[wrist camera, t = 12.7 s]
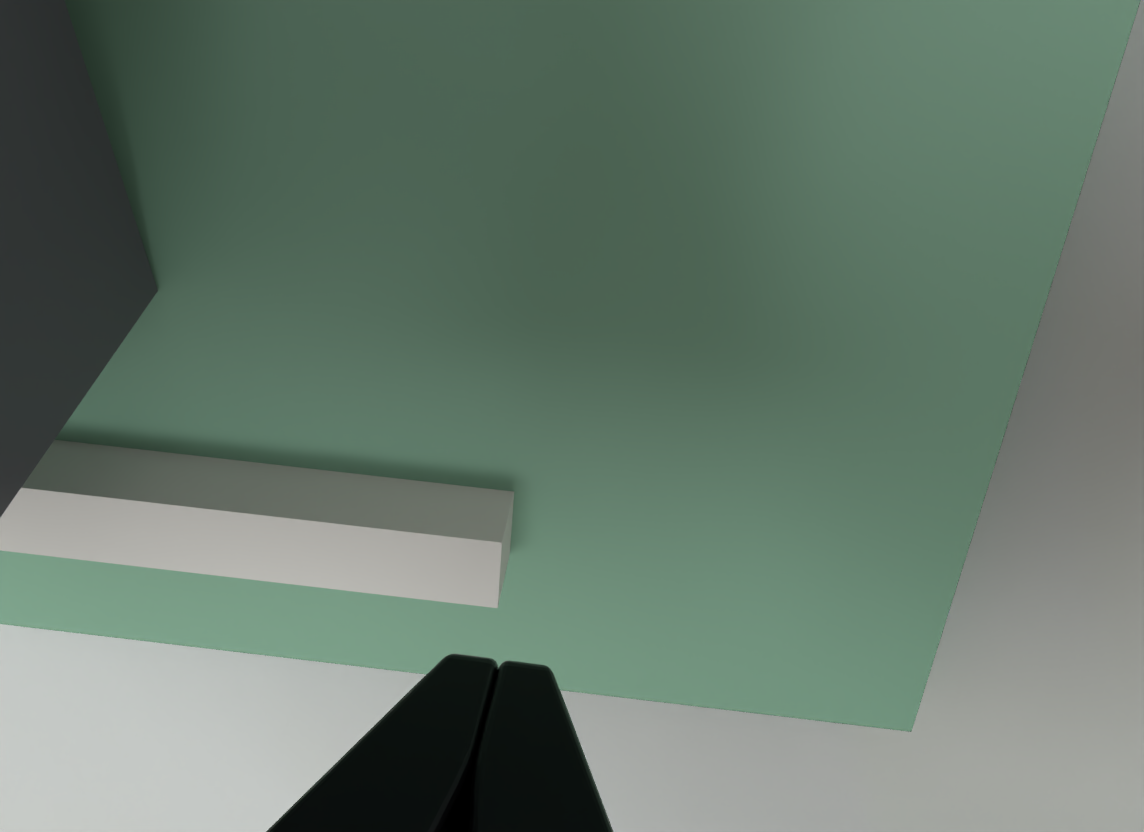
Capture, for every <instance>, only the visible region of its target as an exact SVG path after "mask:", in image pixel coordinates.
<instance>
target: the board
mask: <svg viewBox="0 0 1144 832" xmlns="http://www.w3.org/2000/svg"><path fill="white" fill-rule="evenodd" d="M65 3H66V6H67V9H68V12H69V16H70V19H71V22H72V25H73V28H74V31H75V34H76V37H77V40H78V44H79V47H80V50H81V53H82V56H83V59H84V62H85V65H86V68H87V72H88V75H89V78H90V81H91V84H92V87H93V90H94V93H95V96H96V99H97V103H98V106H99V109H100V112H101V115H102V118H103V121H104V124H105V127H106V131H107V134H108V137H109V140H110V143H111V146H112V149H113V152H114V155H115V158H116V162H117V165H118V168H119V171H120V174H121V177H122V180H123V183H124V186H125V190H126V193H127V196H128V199H129V202H130V205H131V208H132V211H133V214H134V217H135V221H136V224H137V227H138V230H139V233H140V236H141V239H142V242H143V245H144V249H145V252H146V255H147V258H148V261H149V264H150V267H151V270H152V273H153V277H154V280H155V283H156V286H157V289H158V292H157V293H156V294H155V296H154V297H153V299H152V300H151V302H150V303H149V304H148V306H147V307H146V309H145V310H144V312H143V313H142V315H141V316H140V317H139V319H138V320H137V322H136V323H135V325H134V326H133V328H132V329H131V330H130V332H129V333H128V335H127V336H126V338H125V339H124V340H123V342H122V343H121V345H120V346H119V348H118V349H117V351H116V352H115V353H114V355H113V356H112V358H111V359H110V361H109V362H108V363H107V365H106V366H105V368H104V369H103V371H102V372H101V374H100V375H99V376H98V378H97V379H96V381H95V382H94V384H93V385H92V386H91V388H90V389H89V391H88V392H87V394H86V395H85V397H84V398H83V399H82V401H81V402H80V404H79V405H78V407H77V408H76V409H75V411H74V412H73V414H72V415H71V417H70V418H69V420H68V421H67V422H66V424H65V425H64V427H63V428H62V430H61V431H60V433H59V434H58V435H57V437H56V438H55V440H54V441H53V443H52V444H51V445H50V447H49V448H48V450H47V451H46V453H45V454H44V456H43V457H42V458H41V460H40V461H39V463H38V464H37V466H36V467H35V468H34V470H33V471H32V473H31V474H30V476H29V477H28V479H27V480H26V481H25V483H24V484H23V486H22V487H21V489H20V490H19V491H18V493H17V494H16V496H15V497H14V499H13V500H12V502H11V503H10V504H9V506H8V507H7V509H6V510H5V512H4V513H3V514H2V516H1V517H0V624H5V625H14V626H22V627H31V628H39V629H47V630H56V631H64V632H73V633H81V634H90V635H98V636H107V637H115V638H124V639H132V640H140V641H149V642H157V643H166V644H174V645H183V646H191V647H200V648H208V649H216V650H225V651H233V652H242V653H250V654H259V655H267V656H276V657H284V658H293V659H301V660H309V661H318V662H326V663H335V664H343V665H352V666H360V667H369V668H377V669H386V670H394V671H402V672H411V673H419V674H428V673H429V672H430V671H431V670H432V669H433V668H434V667H435V666H436V665H437V664H438V663H439V662H440V661H441V660H442V659H443V658H444V657H445V656H447V655H450V654H463V655H471V656H479V657H487V658H492V659H494V660H495V661H496V662H497V664H498V668H499V666H500V665H501V664H502V662H504V661H509V660H510V661H518V662H526V663H533V664H541V665H546V666H548V667H549V668H550V669H551V670H552V672H553V673H554V676H555V678H556V681H557V684H558V686H559V689H560V690H563V691H571V692H580V693H588V694H597V695H605V696H614V697H622V698H631V699H639V700H648V701H656V702H664V703H673V704H681V705H690V706H698V707H707V708H715V709H724V710H732V711H740V712H749V713H757V714H766V715H774V716H783V717H791V718H800V719H808V720H817V721H825V722H833V723H842V724H850V725H859V726H867V727H876V728H884V729H893V730H901V731H910V732H911V731H912V728H913V725H914V721H915V718H916V715H917V712H918V709H919V705H920V702H921V699H922V696H923V693H924V689H925V686H926V683H927V680H928V677H929V674H930V670H931V667H932V664H933V661H934V658H935V654H936V651H937V648H938V645H939V642H940V638H941V635H942V632H943V629H944V626H945V622H946V619H947V616H948V613H949V610H950V606H951V603H952V600H953V597H954V594H955V591H956V587H957V584H958V581H959V578H960V575H961V571H962V568H963V565H964V562H965V559H966V555H967V552H968V549H969V546H970V543H971V539H972V536H973V533H974V530H975V527H976V524H977V520H978V517H979V514H980V511H981V508H982V504H983V501H984V498H985V495H986V492H987V488H988V485H989V482H990V479H991V476H992V472H993V469H994V466H995V463H996V460H997V457H998V453H999V450H1000V447H1001V444H1002V441H1003V437H1004V434H1005V431H1006V428H1007V425H1008V421H1009V418H1010V415H1011V412H1012V409H1013V405H1014V402H1015V399H1016V396H1017V393H1018V390H1019V386H1020V383H1021V380H1022V377H1023V374H1024V370H1025V367H1026V364H1027V361H1028V358H1029V354H1030V351H1031V348H1032V345H1033V342H1034V338H1035V335H1036V332H1037V329H1038V326H1039V323H1040V319H1041V316H1042V313H1043V310H1044V307H1045V303H1046V300H1047V297H1048V294H1049V291H1050V287H1051V284H1052V281H1053V278H1054V275H1055V271H1056V268H1057V265H1058V262H1059V259H1060V256H1061V252H1062V249H1063V246H1064V243H1065V240H1066V236H1067V233H1068V230H1069V227H1070V224H1071V220H1072V217H1073V214H1074V211H1075V208H1076V204H1077V201H1078V198H1079V195H1080V192H1081V189H1082V185H1083V182H1084V179H1085V176H1086V173H1087V169H1088V166H1089V163H1090V160H1091V157H1092V153H1093V150H1094V147H1095V144H1096V141H1097V137H1098V134H1099V131H1100V128H1101V125H1102V122H1103V118H1104V115H1105V112H1106V109H1107V106H1108V102H1109V99H1110V96H1111V93H1112V90H1113V86H1114V83H1115V80H1116V77H1117V74H1118V70H1119V67H1120V64H1121V61H1122V58H1123V55H1124V51H1125V48H1126V45H1127V42H1128V39H1129V35H1130V32H1131V29H1132V26H1133V23H1134V19H1135V16H1136V13H1137V10H1138V7H1139V3H1140V0H65Z"/></svg>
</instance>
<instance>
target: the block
mask: <svg viewBox="0 0 1144 832" xmlns="http://www.w3.org/2000/svg"><path fill="white" fill-rule="evenodd" d="M157 292H158V289H157V286H156V283H155V280H154V277H153V273H152V270H151V267H150V264H149V261H148V258H147V255H146V252H145V249H144V245H143V242H142V239H141V236H140V233H139V230H138V227H137V224H136V221H135V217H134V214H133V211H132V208H131V205H130V202H129V199H128V196H127V193H126V190H125V186H124V183H123V180H122V177H121V174H120V171H119V168H118V165H117V162H116V158H115V155H114V152H113V149H112V146H111V143H110V140H109V137H108V134H107V131H106V127H105V124H104V121H103V118H102V115H101V112H100V109H99V106H98V103H97V99H96V96H95V93H94V90H93V87H92V84H91V81H90V78H89V75H88V72H87V68H86V65H85V62H84V59H83V56H82V53H81V50H80V47H79V44H78V40H77V37H76V34H75V31H74V28H73V25H72V22H71V19H70V16H69V12H68V9H67V6H66V3H65V0H0V517H1V516H2V514H3V513H4V512H5V510H6V509H7V507H8V506H9V504H10V503H11V502H12V500H13V499H14V497H15V496H16V494H17V493H18V491H19V490H20V489H21V487H22V486H23V484H24V483H25V481H26V480H27V479H28V477H29V476H30V474H31V473H32V471H33V470H34V468H35V467H36V466H37V464H38V463H39V461H40V460H41V458H42V457H43V456H44V454H45V453H46V451H47V450H48V448H49V447H50V445H51V444H52V443H53V441H54V440H55V438H56V437H57V435H58V434H59V433H60V431H61V430H62V428H63V427H64V425H65V424H66V422H67V421H68V420H69V418H70V417H71V415H72V414H73V412H74V411H75V409H76V408H77V407H78V405H79V404H80V402H81V401H82V399H83V398H84V397H85V395H86V394H87V392H88V391H89V389H90V388H91V386H92V385H93V384H94V382H95V381H96V379H97V378H98V376H99V375H100V374H101V372H102V371H103V369H104V368H105V366H106V365H107V363H108V362H109V361H110V359H111V358H112V356H113V355H114V353H115V352H116V351H117V349H118V348H119V346H120V345H121V343H122V342H123V340H124V339H125V338H126V336H127V335H128V333H129V332H130V330H131V329H132V328H133V326H134V325H135V323H136V322H137V320H138V319H139V317H140V316H141V315H142V313H143V312H144V310H145V309H146V307H147V306H148V304H149V303H150V302H151V300H152V299H153V297H154V296H155V294H156V293H157Z"/></svg>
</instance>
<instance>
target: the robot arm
mask: <svg viewBox="0 0 1144 832" xmlns="http://www.w3.org/2000/svg"><path fill="white" fill-rule="evenodd" d="M266 832H613V830H612V827H611V824H610V822H609V819H608V816H607V814H606V811H605V808H604V806H603V803H602V800H601V798H600V795H599V792H598V790H597V787H596V784H595V782H594V779H593V777H592V774H591V771H590V769H589V766H588V763H587V761H586V758H585V755H584V753H583V750H582V747H581V745H580V742H579V739H578V737H577V734H576V731H575V729H574V726H573V723H572V721H571V718H570V715H569V713H568V710H567V707H566V705H565V702H564V700H563V697H562V694H561V692H560V689H559V686H558V684H557V681H556V678H555V676H554V673H553V672H552V670H551V669H550V668H549V667H548V666H546V665H541V664H533V663H526V662H518V661H510V660H509V661H504V662H502V664H501V665H500V666H499V668H498V664H497V662H496V661H495V660H494V659H492V658H487V657H479V656H471V655H463V654H450V655H447V656H445V657H444V658H443V659H442V660H441V661H440V662H439V663H438V664H437V665H436V666H435V667H434V668H433V669H432V670H431V671H430V672H429V673H428V674H427V675H426V676H425V677H424V678H423V679H422V680H421V681H420V682H418V683H417V684H416V685H415V686H414V687H413V688H412V689H411V690H410V691H409V692H408V693H407V694H406V695H405V696H404V697H403V698H402V699H401V700H400V701H399V702H398V703H397V704H396V705H395V706H394V707H393V708H392V709H391V710H390V711H389V712H388V713H387V714H386V715H385V716H384V717H383V718H382V719H381V720H380V721H379V722H378V723H377V724H376V725H375V726H374V727H373V728H372V729H371V730H370V731H368V732H367V733H366V734H365V735H364V736H363V737H362V738H361V739H360V740H359V741H358V742H357V743H356V744H355V745H354V746H353V747H352V748H351V749H350V750H349V751H348V752H347V753H346V754H345V755H344V756H343V757H342V758H341V759H340V760H339V761H338V762H337V763H336V764H335V765H334V766H333V767H332V768H331V769H330V770H329V771H328V772H327V773H326V774H325V775H324V776H323V777H322V778H321V779H320V780H319V781H317V782H316V783H315V784H314V785H313V786H312V787H311V788H310V789H309V790H308V791H307V792H306V793H305V794H304V795H303V796H302V797H301V798H300V799H299V800H298V801H297V802H296V803H295V804H294V805H293V806H292V807H291V808H290V809H289V810H288V811H287V812H286V813H285V814H284V815H283V816H282V817H281V818H280V819H279V820H278V821H277V822H276V823H275V824H274V825H273V826H272V827H271V828H270V829H269V830H267V831H266Z"/></svg>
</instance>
